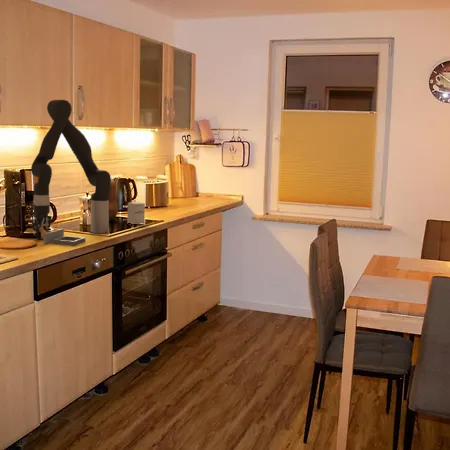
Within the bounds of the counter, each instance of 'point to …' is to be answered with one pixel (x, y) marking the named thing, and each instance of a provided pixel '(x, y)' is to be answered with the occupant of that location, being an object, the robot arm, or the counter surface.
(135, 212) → the supplement box
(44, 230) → the ball
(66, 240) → the tray
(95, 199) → the robot arm
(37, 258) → the counter surface
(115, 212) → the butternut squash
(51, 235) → the wall
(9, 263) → the counter surface
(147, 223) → the counter surface
